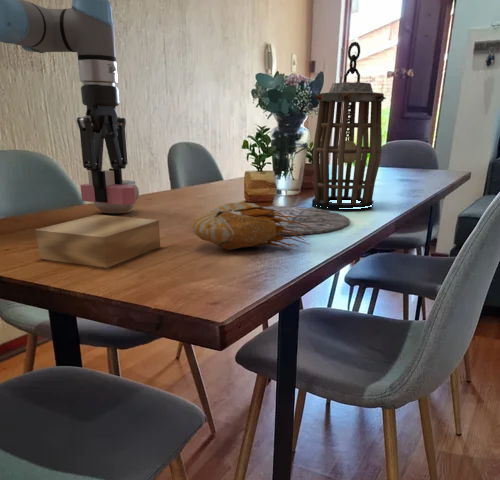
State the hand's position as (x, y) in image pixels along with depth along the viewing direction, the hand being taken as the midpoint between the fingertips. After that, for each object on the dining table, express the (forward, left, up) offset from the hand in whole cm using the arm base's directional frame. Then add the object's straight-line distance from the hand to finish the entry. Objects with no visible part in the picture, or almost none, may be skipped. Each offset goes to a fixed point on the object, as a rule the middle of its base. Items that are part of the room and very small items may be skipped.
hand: (109, 200), depth 114 cm
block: (+15, -23, -5) cm, 28 cm away
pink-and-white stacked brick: (0, 0, 0) cm, 0 cm away
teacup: (-7, +12, -5) cm, 15 cm away
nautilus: (+38, -9, -5) cm, 40 cm away
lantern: (+42, +47, -5) cm, 64 cm away
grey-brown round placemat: (+33, +20, -5) cm, 39 cm away
